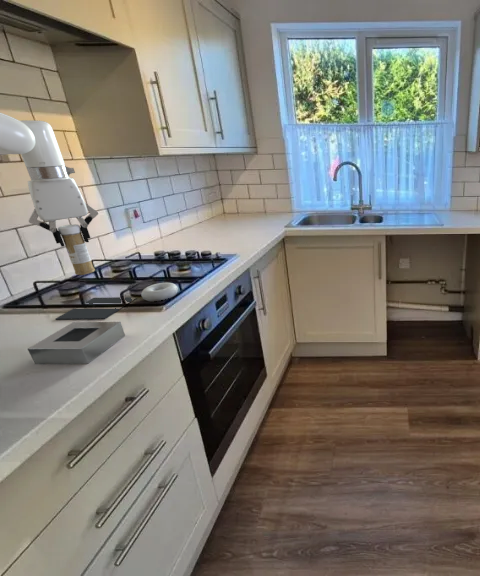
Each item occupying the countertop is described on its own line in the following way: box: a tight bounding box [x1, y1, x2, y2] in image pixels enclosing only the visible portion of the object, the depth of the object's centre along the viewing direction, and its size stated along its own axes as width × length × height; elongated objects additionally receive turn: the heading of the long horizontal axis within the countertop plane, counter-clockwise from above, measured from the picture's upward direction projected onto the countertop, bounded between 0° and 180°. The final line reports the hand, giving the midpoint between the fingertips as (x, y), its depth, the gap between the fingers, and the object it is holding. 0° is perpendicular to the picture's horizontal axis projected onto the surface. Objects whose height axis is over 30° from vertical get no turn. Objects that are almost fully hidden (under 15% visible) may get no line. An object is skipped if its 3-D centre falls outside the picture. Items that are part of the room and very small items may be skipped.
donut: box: [140, 282, 179, 303], centre depth 113 cm, size 10×4×10 cm
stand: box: [27, 321, 126, 365], centre depth 85 cm, size 12×12×4 cm
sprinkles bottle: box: [57, 224, 96, 276], centre depth 99 cm, size 5×5×14 cm
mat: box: [55, 296, 132, 321], centre depth 106 cm, size 14×14×1 cm
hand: (74, 242), depth 99 cm, fingers closed on sprinkles bottle, 4 cm apart
